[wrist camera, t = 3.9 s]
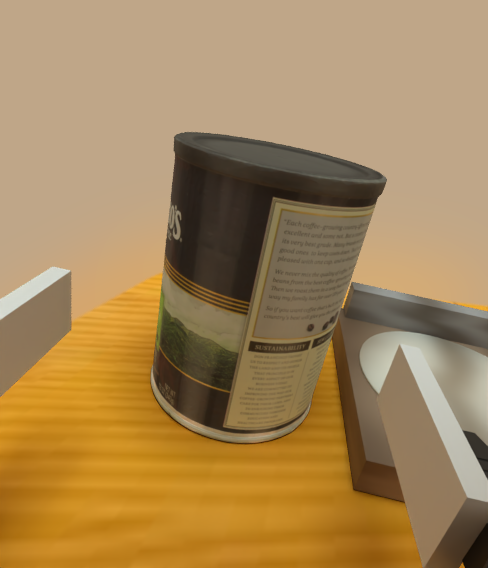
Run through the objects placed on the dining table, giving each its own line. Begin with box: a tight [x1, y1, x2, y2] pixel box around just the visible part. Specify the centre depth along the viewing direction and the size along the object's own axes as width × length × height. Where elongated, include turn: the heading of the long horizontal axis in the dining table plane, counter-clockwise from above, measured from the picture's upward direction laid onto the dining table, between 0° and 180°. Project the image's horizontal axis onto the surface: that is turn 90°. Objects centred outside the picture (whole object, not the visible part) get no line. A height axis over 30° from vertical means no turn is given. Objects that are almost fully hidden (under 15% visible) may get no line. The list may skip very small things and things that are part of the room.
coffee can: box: [151, 132, 387, 443], centre depth 22 cm, size 10×10×14 cm
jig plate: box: [332, 282, 488, 502], centre depth 25 cm, size 14×16×4 cm
